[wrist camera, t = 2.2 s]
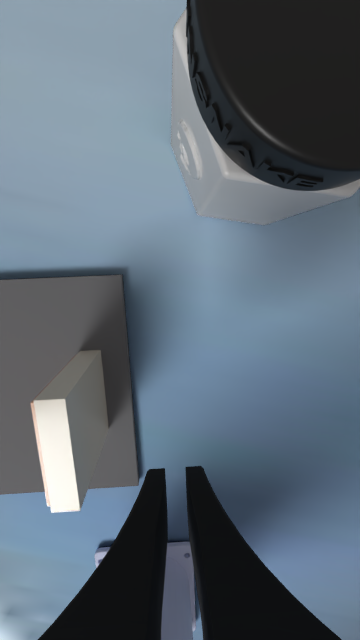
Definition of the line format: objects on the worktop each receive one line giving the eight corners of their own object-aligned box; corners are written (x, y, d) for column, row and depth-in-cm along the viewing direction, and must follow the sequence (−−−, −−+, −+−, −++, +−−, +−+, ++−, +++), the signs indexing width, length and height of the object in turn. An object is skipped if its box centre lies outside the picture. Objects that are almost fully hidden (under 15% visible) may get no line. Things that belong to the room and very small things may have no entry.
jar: (152, 108, 17) (120, -200, 6) (280, 50, 17) (526, -406, 5) (206, 249, 19) (265, 238, 8) (322, 201, 19) (574, 109, 7)
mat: (139, 479, 23) (138, 485, 22) (-70, 492, 22) (-76, 499, 22) (122, 274, 19) (121, 274, 19) (-124, 284, 19) (-134, 285, 18)
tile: (108, 428, 21) (80, 510, 14) (85, 429, 21) (46, 513, 14) (100, 349, 20) (64, 398, 13) (76, 351, 20) (27, 400, 13)
